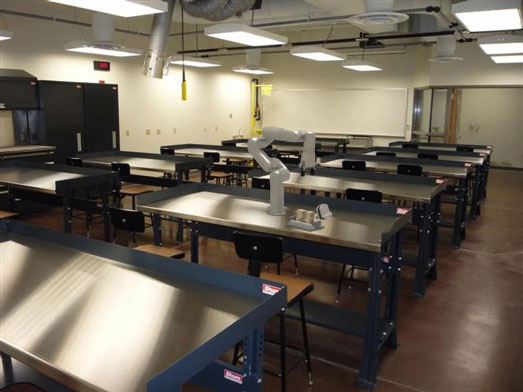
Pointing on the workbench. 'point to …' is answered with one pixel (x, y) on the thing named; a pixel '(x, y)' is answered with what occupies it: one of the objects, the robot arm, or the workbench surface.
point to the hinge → (323, 211)
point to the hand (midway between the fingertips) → (307, 175)
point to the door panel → (305, 216)
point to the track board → (304, 224)
